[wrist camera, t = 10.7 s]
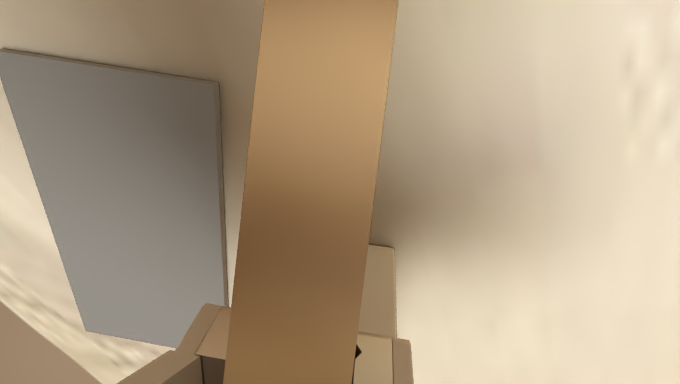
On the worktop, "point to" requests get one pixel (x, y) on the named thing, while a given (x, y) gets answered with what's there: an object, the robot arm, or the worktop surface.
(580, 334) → the worktop surface
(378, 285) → the small box
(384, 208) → the worktop surface
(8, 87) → the mat
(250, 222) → the wooden t-shaped stand
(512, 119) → the worktop surface
